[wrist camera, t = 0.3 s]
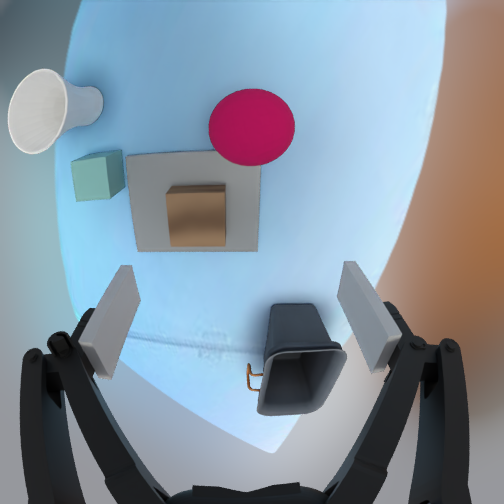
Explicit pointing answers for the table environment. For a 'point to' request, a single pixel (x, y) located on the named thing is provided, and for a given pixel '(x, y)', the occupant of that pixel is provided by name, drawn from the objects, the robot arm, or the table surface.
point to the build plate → (192, 173)
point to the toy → (251, 127)
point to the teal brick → (98, 175)
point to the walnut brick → (197, 215)
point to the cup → (49, 110)
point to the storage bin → (297, 362)
